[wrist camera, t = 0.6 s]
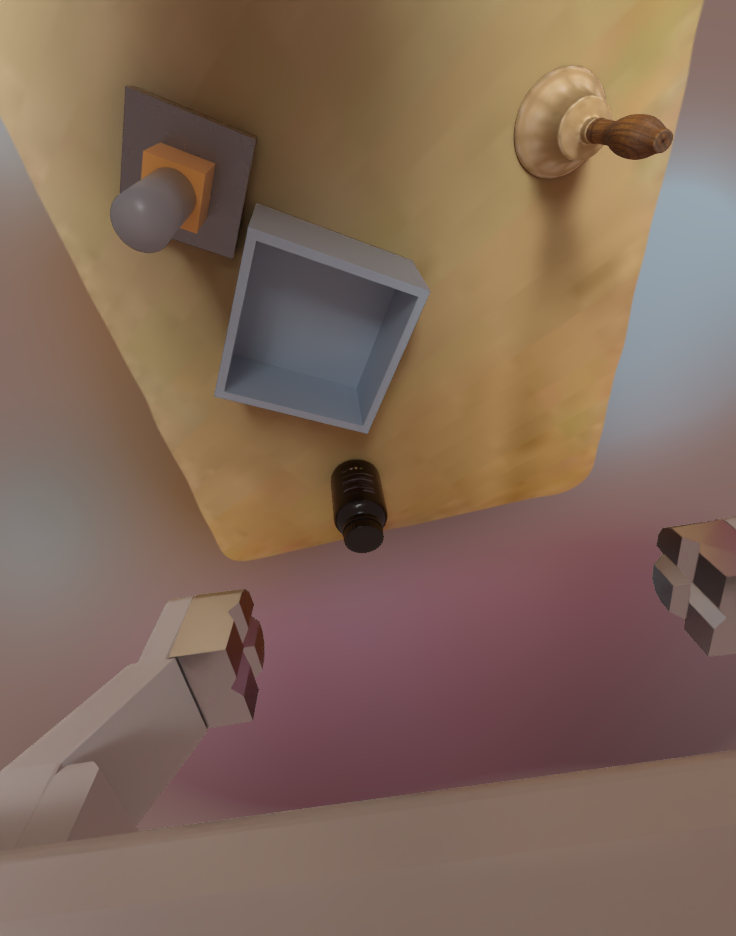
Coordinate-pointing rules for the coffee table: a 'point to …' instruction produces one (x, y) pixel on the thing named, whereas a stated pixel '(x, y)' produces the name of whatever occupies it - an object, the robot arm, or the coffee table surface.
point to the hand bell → (578, 125)
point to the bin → (317, 322)
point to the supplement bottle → (358, 505)
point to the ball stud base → (202, 138)
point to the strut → (163, 199)
